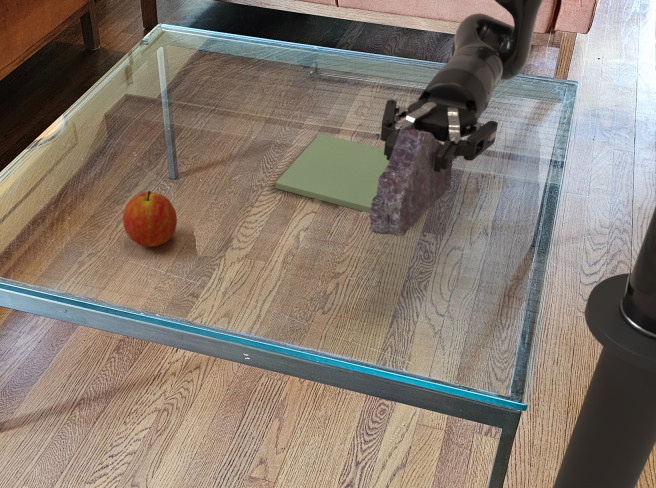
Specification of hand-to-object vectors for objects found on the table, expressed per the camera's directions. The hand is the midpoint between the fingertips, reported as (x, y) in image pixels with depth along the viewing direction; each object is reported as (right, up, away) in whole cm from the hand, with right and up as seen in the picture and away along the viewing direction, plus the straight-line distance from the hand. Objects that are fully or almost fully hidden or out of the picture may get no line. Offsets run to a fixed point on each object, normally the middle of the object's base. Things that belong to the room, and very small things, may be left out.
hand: (414, 159), depth 93 cm
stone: (0, -5, +4) cm, 6 cm away
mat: (-2, +2, +30) cm, 30 cm away
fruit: (-31, -8, +18) cm, 37 cm away
